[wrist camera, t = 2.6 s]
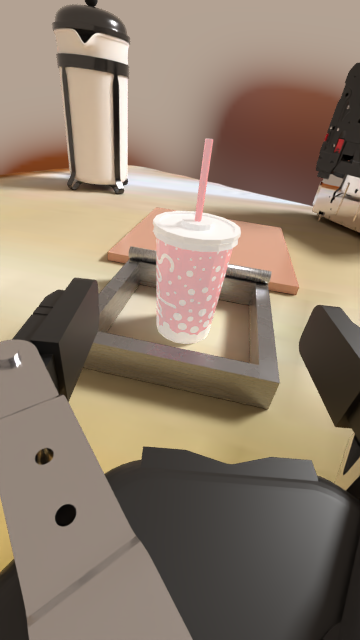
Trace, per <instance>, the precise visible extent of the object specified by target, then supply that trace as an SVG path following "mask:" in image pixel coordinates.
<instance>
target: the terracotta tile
mask: <svg viewBox="0 0 360 640" xmlns="http://www.w3.org/2000/svg"><path fill="white" fill-rule="evenodd" d="M172 211H176V210H170V209H164V208H158V207H156V208H155V209H154V210H153V211H152V212H151V213H150V214H149V215H147V216H146V217H145V218H144V219H143V220H142V221H141V222H140V223H139V224H138V225H137V226H136V227H134V228H133V229H132V230H131V231H130V232H129V233H128V234H127V235H126V236H125V237H124V238H123V239H121V240H120V241H119V242H118V243H117V244H116V245H115V246H114V247H113V248H112V249H111V250H109V251H108V260H110V261H116V262H121V263H126V262H127V261H128V260H129V259H130V258H129V249H130V247H131V246H133V247H138V248H144V249H149V250H155V251H156V236H155V234H154V232H153V229H154V225H153V219H154V218H155V217H156V215H159V214H161V213H164V212H172ZM227 220H230V221H232V222H234V223H235V224H236V225H238V226H239V227H240V230H241V235H240V237H239V238H238V244H237V245H236V246H235V247H233V250H232V254H231V257H230V261H229V264H233V265H239V266H244V267H250V268H255V269H261V270H267V271H271V279H270V282H269V284H268V288H269V290H272V291H277V292H283V293H288V294H294V295H296V294H297V291H298V289H299V285H298V282H297V279H296V275H295V272H294V269H293V265H292V262H291V259H290V256H289V252H288V249H287V246H286V242H285V239H284V236H283V233H282V229H281V228H280V227H273V226H267V225H261V224H255V223H249V222H243V221H237V220H231V219H227Z"/></svg>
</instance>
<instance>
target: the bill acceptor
mask: <svg viewBox="0 0 360 640" xmlns="http://www.w3.org/2000/svg"><path fill="white" fill-rule="evenodd" d="M345 83H346V85H345V88H344V91H343V93H342V96H341V99H340V100H339V102H338V104H337V106H336V109H335V112H334V115H333V118H332V120H331V123H330V127H329V129H328V134H326V138H325V141H324V142H323V145H322V147H321V150H320V156H319V159H318V161H317V167H316V170H317V171H319V173H318V177H321V178H324V179H323V181H321V183H320V185H319V188H318V191H317V193H316V196H315V199H314V202H313V205H314V206H313V209H312V212H315V213H317V215H318V216H319V219H318V221H320V219H321V217H324V218H327V219H330V220H331V221H333V222H336V223H338V224H341V225H343V226H345V227H347V228H350V229H352V230H356V231H357V232H359V233H360V63H356V64H355V65H354V66H353V68H352V69H351V70H350V71H349V73H348V76H347V79H346V81H345ZM348 160H351V161H348Z"/></svg>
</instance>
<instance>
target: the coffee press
mask: <svg viewBox="0 0 360 640" xmlns="http://www.w3.org/2000/svg"><path fill="white" fill-rule="evenodd" d="M85 2H86V4H87V5H88V6H86V5H66V6H64V7H62V8H60V9H59V10H58V11H57V13H56V16H55V22H53V23H52V25H53V31H54V33H55V35H56V41H57V51H58V54H57V65H58V68H59V71H60V81H61V90H62V100H63V110H64V119H65V129H66V139H67V149H68V158H69V167H70V173H71V176H70V179H69V181H68V183H67V185H68V187H69V188H71V189H73V190H76V189H77V188H78V186H79V185H80V184H81V183H91V184H100V185H109V186H111V187H112V188H113V189H114V191H115V193H116V194H121V193H124V188H123V185H126V184H127V183H128V179H127V151H128V147H127V146H128V145H127V142H128V139H127V138H128V137H127V136H128V108H127V107H128V97H127V96H128V78H129V66H128V47H129V45H130V38H129V36H127V31H126V28H125V25H124V24H123V22H122V21H121V20H120V19H119V18H118V17H117V16H115V15H114V14H112V13H110V12H108V11H105V10H102V9H99V8H95V7H94V6H96V4H97V0H85ZM74 178H75V179H76V180H79V181H77V182H76V183H75V185H74V186H73V187H72V183H73V181H74ZM115 184H117V185H115ZM122 184H123V185H122Z"/></svg>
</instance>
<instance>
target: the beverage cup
mask: <svg viewBox="0 0 360 640" xmlns="http://www.w3.org/2000/svg"><path fill="white" fill-rule="evenodd" d="M212 144H213V139H208V138H206V139H205V146H204V153H203V161H202V168H201V175H200V183H199V190H198V198H197V205H196V212H194V211H172V212H164V213H161V214H159V215H156V217H155V218H154V219H153V225H154V229H153V232H154V234H155V236H156V276H157V328H158V332H159V333H160V334H161V335H162V336H163V337H164V338H166V339H168V340H171V341H173V342H176V343H182V344H190V343H197V342H199V341H201V340H204V339H205V337H206V336H207V335H208V334H209V330H210V327H211V323H212V320H213V316H214V313H215V309H216V306H217V302H218V299H219V295H220V292H221V288H222V285H223V281H224V278H225V274H226V271H227V267H228V264H229V261H230V257H231V254H232V250H233V247H235V246H236V245H237V244H238V238H239V237H240V235H241V230H240V227H239V226H238V225H236V224H235V223H234V222H232V221H230V220H227V219H225V218H223V217H219V216H215V215H212V214H208V213H202V212H203V206H204V199H205V192H206V185H207V178H208V171H209V165H210V158H211V151H212Z"/></svg>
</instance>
